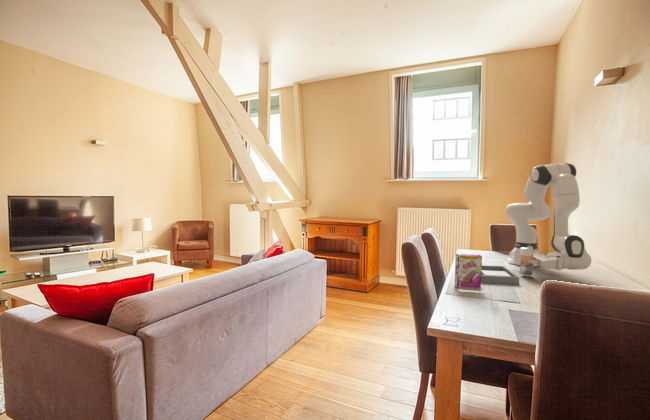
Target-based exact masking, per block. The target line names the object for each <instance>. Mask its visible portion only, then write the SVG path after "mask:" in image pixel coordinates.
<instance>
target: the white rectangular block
mask: <svg viewBox="0 0 650 420" xmlns="http://www.w3.org/2000/svg"><path fill="white" fill-rule="evenodd" d="M481 275H487V276H508V277H511V276H510V275H509V274H508V273H506V272H505V271H487V270H481Z"/></svg>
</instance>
